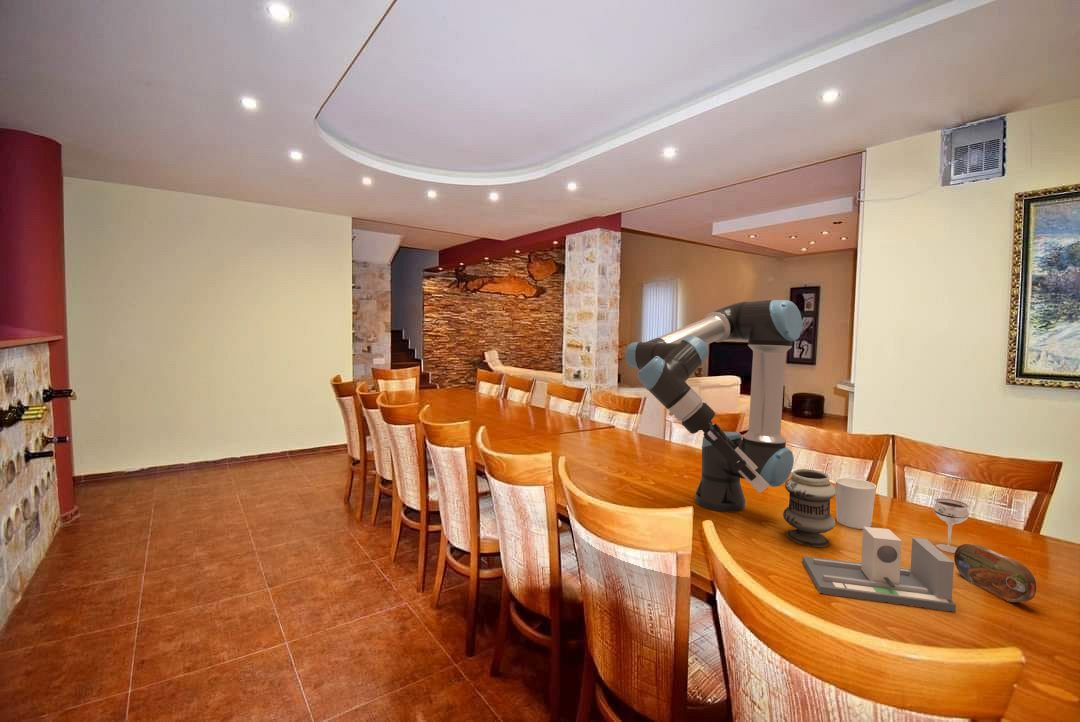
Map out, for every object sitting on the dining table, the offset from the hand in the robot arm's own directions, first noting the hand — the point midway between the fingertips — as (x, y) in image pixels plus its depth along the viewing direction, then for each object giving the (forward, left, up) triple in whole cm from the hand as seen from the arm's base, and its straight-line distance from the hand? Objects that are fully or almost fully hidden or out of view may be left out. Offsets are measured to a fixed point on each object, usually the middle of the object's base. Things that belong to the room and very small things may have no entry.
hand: (758, 479), depth 108 cm
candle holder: (+9, +48, -22) cm, 53 cm away
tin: (+39, +28, -22) cm, 53 cm away
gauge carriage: (+22, +11, -20) cm, 32 cm away
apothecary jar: (+3, +27, -22) cm, 35 cm away
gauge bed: (+20, +12, -22) cm, 32 cm away
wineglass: (+30, +47, -22) cm, 60 cm away
